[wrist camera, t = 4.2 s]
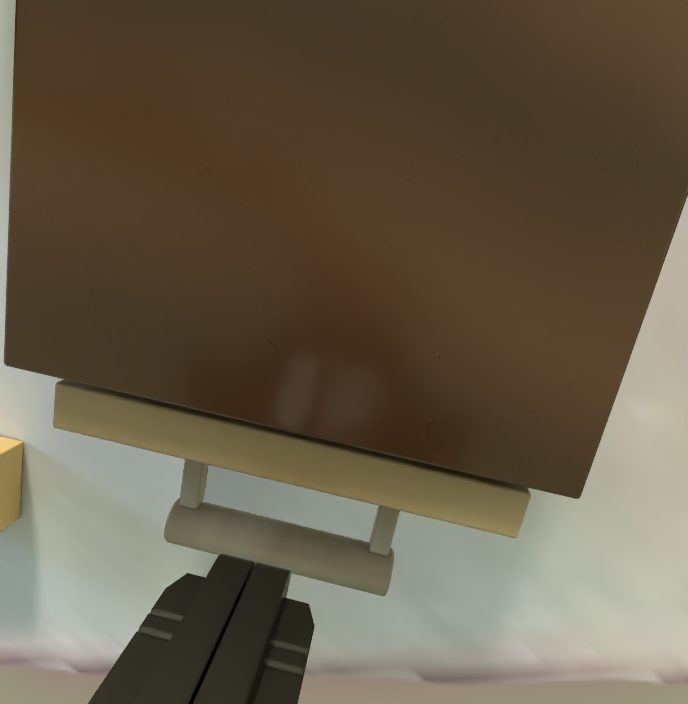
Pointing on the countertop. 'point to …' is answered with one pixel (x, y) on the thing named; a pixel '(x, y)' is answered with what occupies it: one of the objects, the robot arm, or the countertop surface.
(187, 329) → the cabinet
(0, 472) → the block
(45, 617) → the countertop surface
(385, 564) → the drawer
